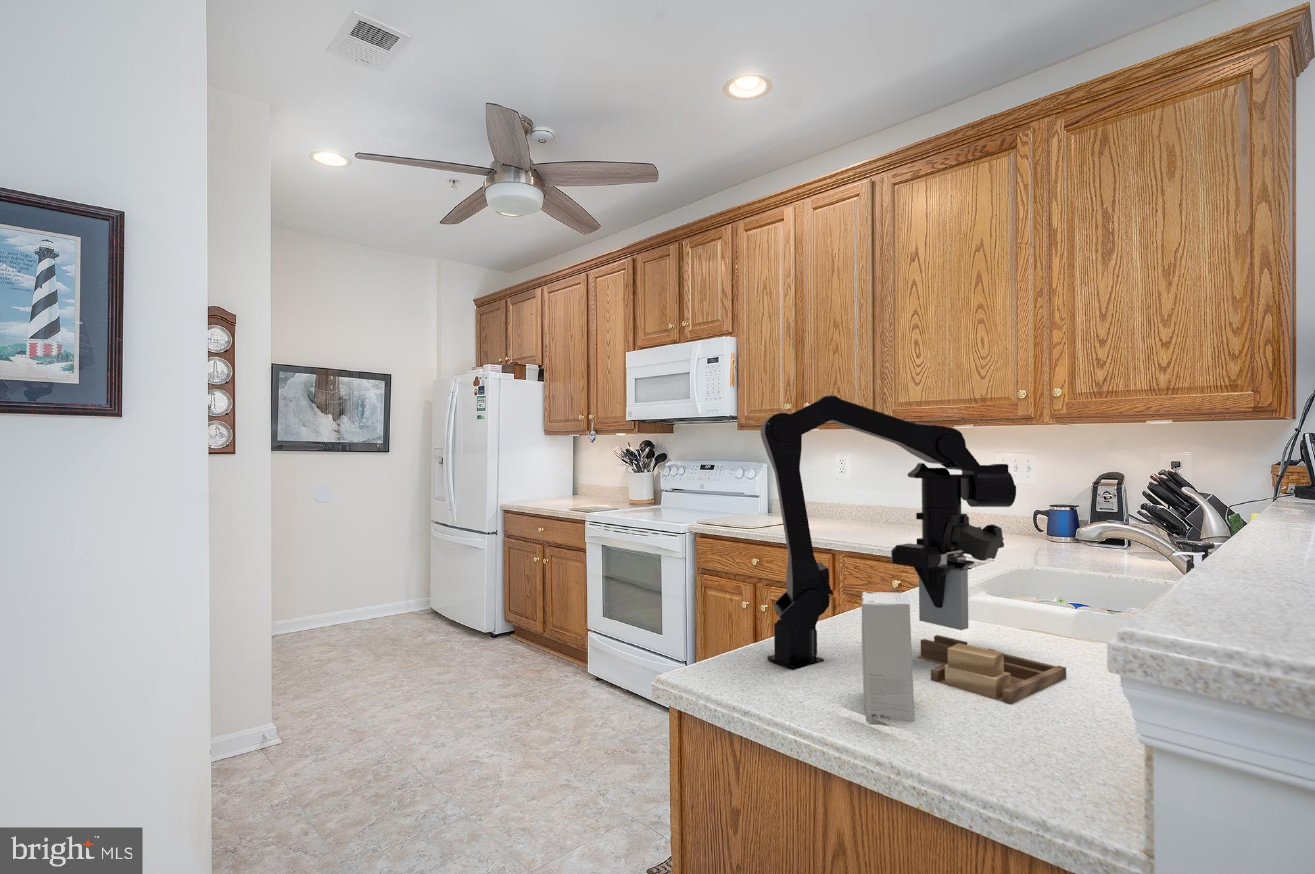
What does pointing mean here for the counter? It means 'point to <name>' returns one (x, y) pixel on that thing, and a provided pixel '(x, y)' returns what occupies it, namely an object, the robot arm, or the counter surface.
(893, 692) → the skincare box
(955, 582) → the gray rectangular block
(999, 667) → the offcut
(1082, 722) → the counter surface
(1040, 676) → the rack
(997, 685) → the offcut
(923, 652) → the stand
